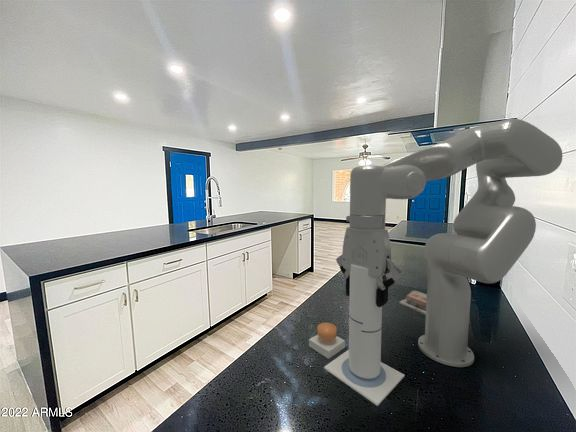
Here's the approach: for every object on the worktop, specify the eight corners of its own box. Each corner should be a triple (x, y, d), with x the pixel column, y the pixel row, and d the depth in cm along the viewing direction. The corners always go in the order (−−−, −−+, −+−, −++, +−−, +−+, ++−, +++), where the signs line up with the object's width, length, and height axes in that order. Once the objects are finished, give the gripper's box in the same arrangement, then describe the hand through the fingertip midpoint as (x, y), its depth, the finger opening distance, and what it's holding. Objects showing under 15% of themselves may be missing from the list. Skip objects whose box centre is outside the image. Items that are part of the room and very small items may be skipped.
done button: (325, 327, 71) (325, 320, 71) (340, 334, 67) (340, 327, 67) (313, 334, 68) (313, 327, 68) (328, 342, 64) (328, 335, 64)
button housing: (325, 336, 73) (325, 329, 73) (345, 347, 68) (345, 340, 67) (308, 346, 68) (308, 339, 68) (328, 358, 63) (328, 351, 63)
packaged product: (465, 304, 83) (449, 312, 78) (464, 318, 83) (448, 326, 78) (415, 286, 98) (399, 292, 94) (414, 298, 99) (398, 304, 94)
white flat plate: (352, 347, 67) (352, 346, 67) (404, 376, 57) (404, 374, 57) (323, 368, 60) (323, 366, 60) (377, 406, 49) (377, 403, 49)
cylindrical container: (356, 353, 63) (357, 257, 61) (384, 365, 59) (387, 263, 56) (343, 368, 58) (344, 264, 55) (373, 383, 53) (376, 271, 51)
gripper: (325, 220, 59) (325, 292, 61) (397, 228, 46) (395, 319, 48) (344, 218, 64) (344, 284, 65) (415, 224, 51) (411, 307, 52)
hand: (365, 298), depth 56 cm, fingers closed on cylindrical container, 7 cm apart
